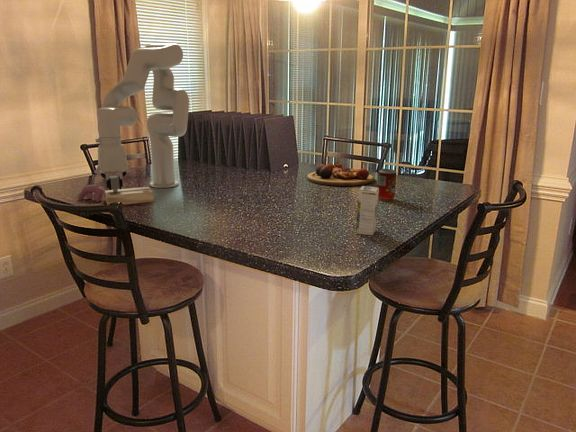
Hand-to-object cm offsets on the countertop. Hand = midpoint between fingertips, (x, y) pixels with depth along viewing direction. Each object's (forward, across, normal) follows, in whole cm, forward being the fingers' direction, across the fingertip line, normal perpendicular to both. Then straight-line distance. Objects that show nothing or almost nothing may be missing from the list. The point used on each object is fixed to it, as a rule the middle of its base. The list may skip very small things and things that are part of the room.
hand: (115, 188), depth 185 cm
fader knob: (+1, 0, 0) cm, 1 cm away
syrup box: (+6, +69, -69) cm, 98 cm away
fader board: (+5, +5, 0) cm, 7 cm away
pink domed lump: (+6, -8, +8) cm, 13 cm away
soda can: (+6, +100, -37) cm, 107 cm away
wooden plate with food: (+6, +103, +4) cm, 103 cm away
